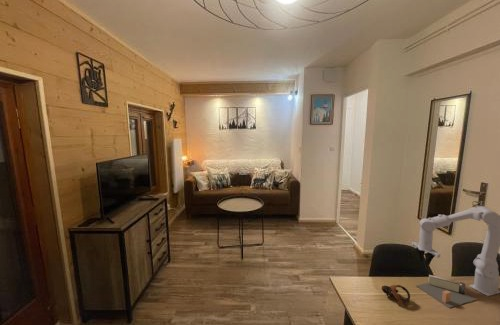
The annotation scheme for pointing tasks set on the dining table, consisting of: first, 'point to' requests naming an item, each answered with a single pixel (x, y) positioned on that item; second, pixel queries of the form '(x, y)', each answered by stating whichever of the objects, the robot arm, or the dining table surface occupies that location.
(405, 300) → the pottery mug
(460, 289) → the gate post
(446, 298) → the block
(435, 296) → the mat
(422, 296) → the dining table surface
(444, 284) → the bar
